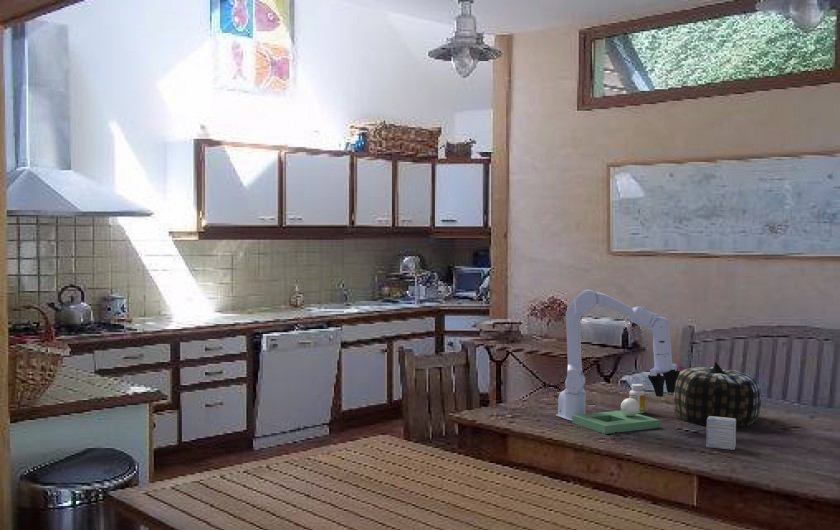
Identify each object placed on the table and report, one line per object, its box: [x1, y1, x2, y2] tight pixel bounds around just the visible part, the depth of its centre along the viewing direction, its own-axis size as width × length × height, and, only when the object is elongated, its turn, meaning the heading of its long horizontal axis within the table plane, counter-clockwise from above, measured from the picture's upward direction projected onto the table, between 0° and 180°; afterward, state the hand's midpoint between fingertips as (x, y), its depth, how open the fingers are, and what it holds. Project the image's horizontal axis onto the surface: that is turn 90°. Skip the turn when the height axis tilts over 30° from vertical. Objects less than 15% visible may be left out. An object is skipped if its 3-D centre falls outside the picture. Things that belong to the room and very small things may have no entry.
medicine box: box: [705, 416, 737, 451], centre depth 252 cm, size 8×4×9 cm, turn 65°
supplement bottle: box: [628, 383, 646, 414], centre depth 301 cm, size 5×5×10 cm
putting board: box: [571, 410, 660, 435], centre depth 279 cm, size 17×22×2 cm
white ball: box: [620, 397, 639, 416], centre depth 282 cm, size 6×6×6 cm
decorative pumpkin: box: [673, 361, 762, 427], centre depth 292 cm, size 30×29×20 cm
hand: (665, 394), depth 282 cm, fingers open, 7 cm apart
